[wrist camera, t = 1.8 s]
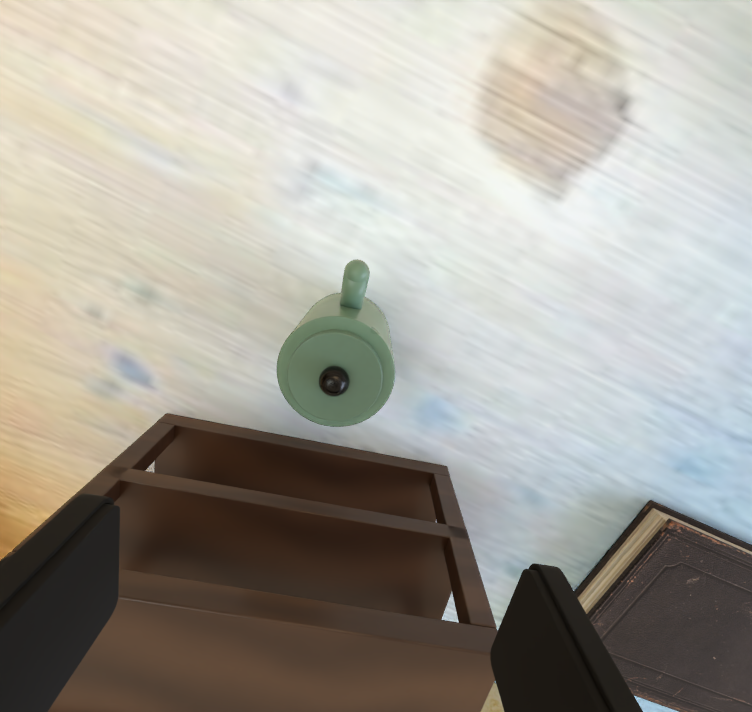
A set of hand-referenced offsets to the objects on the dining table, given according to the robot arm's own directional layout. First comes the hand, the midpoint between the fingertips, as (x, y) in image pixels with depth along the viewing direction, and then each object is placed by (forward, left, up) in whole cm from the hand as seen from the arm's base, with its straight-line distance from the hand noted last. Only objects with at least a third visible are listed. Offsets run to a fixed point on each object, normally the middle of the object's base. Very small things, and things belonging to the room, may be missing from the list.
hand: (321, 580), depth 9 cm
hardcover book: (+17, +33, -18) cm, 41 cm away
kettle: (-2, -1, -17) cm, 17 cm away
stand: (+12, -2, -17) cm, 21 cm away
